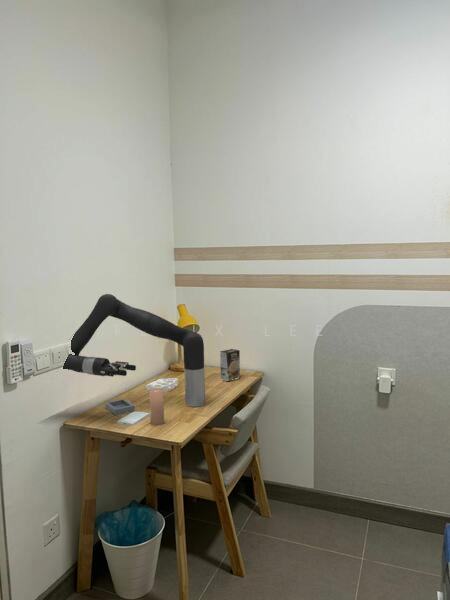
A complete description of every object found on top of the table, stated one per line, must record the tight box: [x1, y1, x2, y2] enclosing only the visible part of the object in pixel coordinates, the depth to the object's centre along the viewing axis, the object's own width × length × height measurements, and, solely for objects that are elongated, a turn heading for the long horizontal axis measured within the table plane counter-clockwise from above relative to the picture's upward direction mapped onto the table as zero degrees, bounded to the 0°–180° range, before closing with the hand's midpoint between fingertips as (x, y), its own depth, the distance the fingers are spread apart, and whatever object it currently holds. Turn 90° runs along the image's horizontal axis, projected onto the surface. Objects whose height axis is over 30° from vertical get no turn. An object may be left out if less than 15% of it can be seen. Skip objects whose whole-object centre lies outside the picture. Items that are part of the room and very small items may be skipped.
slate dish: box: [104, 398, 136, 416], centre depth 203 cm, size 12×9×2 cm
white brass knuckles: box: [144, 377, 179, 393], centre depth 234 cm, size 3×18×15 cm
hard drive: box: [116, 410, 150, 427], centre depth 191 cm, size 2×8×12 cm
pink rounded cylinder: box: [148, 388, 165, 426], centre depth 186 cm, size 6×6×14 cm
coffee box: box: [219, 348, 241, 382], centre depth 245 cm, size 9×6×16 cm
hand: (131, 370), depth 186 cm, fingers open, 8 cm apart
